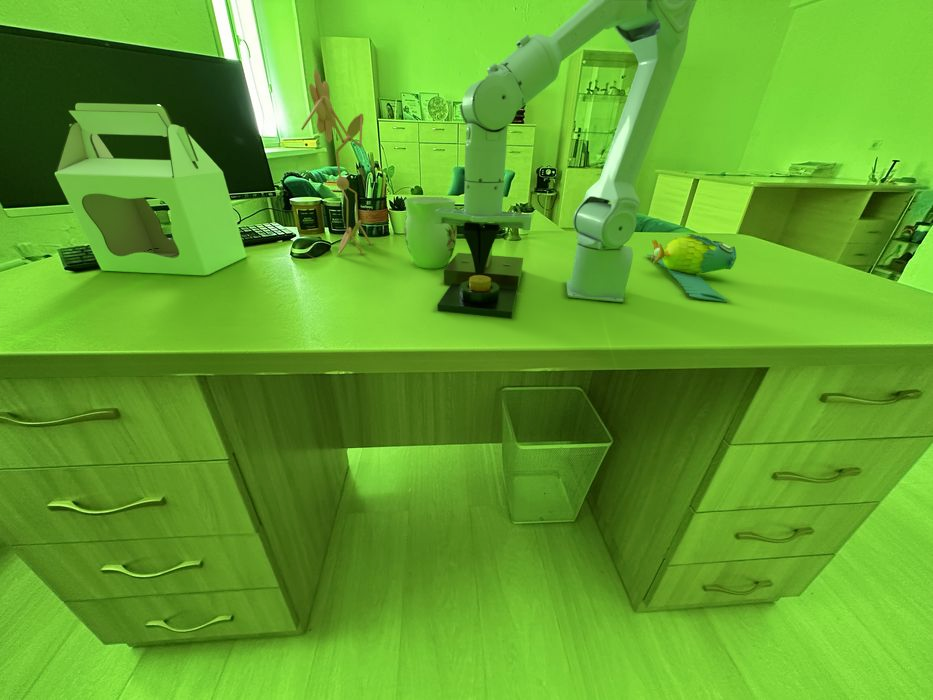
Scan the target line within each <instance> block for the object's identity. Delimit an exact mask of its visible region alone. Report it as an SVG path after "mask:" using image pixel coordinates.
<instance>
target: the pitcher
mask: <svg viewBox="0 0 933 700" xmlns="http://www.w3.org/2000/svg"><path fill="white" fill-rule="evenodd" d="M403 201H404V205H405V210H406V216H405V221H404V228H403V229H404V240H405V245H406V247H407V250H408V254H409V256H410V257H411V260H412V261H413V262H414V263H415V264H416V267H419V268H422V269H428V270H429V269H430V270H431V269H433V270H434V269H441V268H445V267H447V265H448V264H449V263H450V261H451V259H452V257H453V254H454V251H455V248H456V243H457V234H458V232H457V231H458V230H457V229H458V228H457V224H435V211H436V210H437V209H455V205H456V200H455V199H453V198H450V197H442V196H441V197H440V196H416V197H414V196H413V197H408V198H405V199H404V200H403Z"/></svg>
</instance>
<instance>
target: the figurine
mask: <svg viewBox="0 0 933 700" xmlns="http://www.w3.org/2000/svg"><path fill="white" fill-rule="evenodd" d="M313 80H314V84H312V83H311V82H310V83H309V84H308V88H309V93H310V97H311V100H312V103H313V108H312V110H311V111H310V113H308V116H307V117H306V119H305V121H304V123H303V125H302V126H301V128H300V129H301V130H302V131H304V129H305V128H306V126H307V125H308V123H309V122H310V121H311V119H312V118H313V116H314V114H316V128H317V131H318V133H319V134H323V133H325V138H326V141H327V142H328V144H330V143H331V142H332V141H333V129H334V130H335V131H336V133H337V135H338V137H339V139H340V141H341V143H342V144H341V145H340V146H339V147H337V148H336V149H335V153H334V154H335V159H336V166H337V171H338V177H337V179H336V182H335V183H336V187H338V189H340V190H341V192H342V194H343V195H344V198H345V200H346V230H345V232H344V234H343V235H342V237H341V240H340V243H339V247H338V252H337V255H341V253H342V252H343V251H344V249H345V248H346V247H347V244H348V242H351V241H352V242H353V243H354V245H355V246H356V249H357V250H358V251H359V253H360V254H361V255H363V254H364V252H363V250H362V248H361V247H360V245H359V244H358V242H357V241H356V239H355V235H356V234H357V233H358V230H359V229H360V231H361V232H362V234H363V236H364V237H365V239H366V241H367V242H368V244H369V245H370V246H371V245H372V244H373V243H372V242H371V240H370V238H369V237H368V235H367V234H366V233H367V232H366V231H365V230H364V228H363V227H362V225H361V224H362V220H361V219H359V212H358V211H359V210H358V193H357V192H356V191H355V190H354V189H352V188H350V182H349V180H348V179H347V177H345V176H342V175H341V174H342V173H341V165H340V157H339V152H340V151H341V150H342V149H343V148H344V147H345V146H346V145H347V143H348V142H353V143H354V144H355V145H356V146H358V147H359V148H362V146H363V144H362V143H363V126H364V119H365V118H364V114H363V113H359V114H358V115H357V116H355V117H354V118H353V119H352V120H351V122H350V123H349V125H348V127H347V130H346V129H345V127H344V125H343V123H342V122H341V120H340V118H339V116H338V115H337V114H336V112H335V110H334V108H333V105H332V102H331V93H330V86H329V83H328V81H326V80H324V81H323V82H322V77H321V75H320V73H319V72H318V70H317V69H314V70H313ZM337 123H338V124H337ZM338 125H339V126H340V128H341V130H342V131H343V133H344V135H345V136H346V137H343V135H342V133H341V131H340V129H339V126H338ZM358 134H359V139H358V141H357V140H355V139H354V138H355V137H356V136H358ZM347 189H348V190H349V191H351V192H352V193H354V198H355V199H354V201H355V214H356V215H355V216H356V222H355V224H354V227H353V228H352V227H350V226H349V198H348V196H347V194H346V193H345V190H347ZM373 238H374V239H379V237H376V236H373V237H372V239H373ZM315 245H316V243H314V244H311V245H309V246H306V247H305V249H306V251H305V252H307V250H309V248H311V247H313V246H315ZM303 254H304V255H306V254H305V253H303ZM308 257H310V258H313V259H315V257H314V256H311V255H310V254H308Z"/></svg>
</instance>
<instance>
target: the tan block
mask: <svg viewBox="0 0 933 700" xmlns="http://www.w3.org/2000/svg"><path fill="white" fill-rule="evenodd" d="M493 246H494V244H493V245H492V248H491V250H490V253H489V256H488V260H487V264H486V267H488V266H489V264H490V262H491V260H492V255H493Z"/></svg>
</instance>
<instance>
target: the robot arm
mask: <svg viewBox="0 0 933 700" xmlns="http://www.w3.org/2000/svg"><path fill="white" fill-rule="evenodd" d="M696 3H697V0H588V1H587V2H586V3H585V4H583V5H582V6H581V7H580V8H579V9H577V11H576V12H575V13H574V14H572V15H571V16H570V17H569V18H568V19H567V20H566V21H564V22H563V24H561V25H560V26H559V27H558V28H557V29H555V31H553V32H552V33H551V34H550V35H544V34H541V33H535V34H532V36H530V34H526V35H524V36H522V37H521V38H520V39H518V40H517V41H516V43H515V45H516V47H517V48H516V49H515V50H513V52H511V53H510V54H509V55H508V56H507V57H505V58H504V59H503V60H502V61H500V63H498V64H497V63H496V62H494V63H492V64H491V65H489V66H488V67H487V68H486V72H487V73H488V74H487V75H486V76H485V78H484V79H483V78H482V79H481V80H478V81H475V82H473V83H471V84H470V85H469V86H468V88H467V89H466V90H465V92H464V96H463V97H462V103H461V104H460V105H459V112H460V116H461V118H462V120H463V123H464V124H465V125H466V126H465V146H464V147H465V148H464V151H465V152H464V189H463V190H464V191H463V193H464V194H463V195H464V196H463V197H464V198H463V199H464V201H463V208H461V209H459V208H457V209H456V208H454V209H437V210H436V211H435V224H456V225H458V226H459V225H461V226H464V227H463V230H462V234H463V237H464V239H465V241H466V243H467V245H468V249H469V251H470V254H472V258H473V262H474V267H475V273H476V274H484V272H485V269H486V264H487V260H488V256H489V253H490V250H491V248H492V249H493V246H494V243H495V241H496V238H497V237H498V235H499V232H500V230H501V228H504V229H505V228H506V229H518V230H519V229H521V230H523V231H531V224H532V216H533V214H529V213H518V212H510V211H503V203H504V190H505V189H504V188H505V174H506V173H505V171H506V156H507V142H508V141H507V139H508V126H509V125H511V124H512V122H513V121H514V120H515V118H516V115H517V112H518V111H519V110H521V109H522V108H523V107H524V106H526V105H527V104H528V103H530V101H532V100H533V99H535V97H537V96H538V95H539V94H541V92H543V91H544V90H545V89H546V88H548V87H549V86H550V85H551V84H553V82H555V81H556V80H557V78H558V76H559V73H560V69H561V64H562V62H563V61H565V60H566V59H567V58H569V57H570V56H571V55H572V54H574V53H575V52H576V51H577V50H579V49H580V48H581V47H583V46H585V44H586V43H588V42H589V41H591V40H592V39H593V38H595V37H596V36H597V35H598V34H600V33H601V32H602V31H604V30H611V29H612V28H613V29H614V30H615V32H616V33H617V35H619V37H620V38H621V39H622V40H623V42H624V43H625V44H626V45H627V47H628V48H629V49H630V50H631V52H632V53H633V54H634V55H635V57H636V60H637V63H638V64H637V69H636V71H635V74H634V77H633V80H632V83H631V86H630V89H629V91H628V95H627V97H626V100H625V103H624V106H623V109H622V112H621V115H620V118H619V120H618V123H617V126H616V130H615V131H614V132H615V133H614V135H613V138H612V141H611V144H610V147H609V150H608V153H607V156H606V158H605V161H604V165H603V168H602V171H601V172H600V176H599V179H598V180H597V181H596V182H595V183H594V184H592V185H591V186H590V187H589V188H588V189H587V190H586V192H585V195H584V197H583V199H582V201H581V203H580V204H579V205H578V207H576V210H575V211H574V213H573V216H572V226H573V229H574V232H576V233H577V235H576V240H577V243H576V248H575V254H574V260H573V266H572V272H571V276H570V277H571V278H570V280H567V281H566V293H567V297H568V298H570V299H582V300H593V301H602V302H603V301H604V302H614V303H624V300H625V299H624V296H625V294H626V293H625V292H626V289H627V285H628V280H629V278H630V272H631V269H632V264H633V257H634V253H633V248H632V247H631V246H627V245H625V244H626V243H628V242H629V241H630V239H631V238H632V237H633V235H634V233H635V231H636V228H637V215H638V211H639V208H640V206H641V201H640V199H639V196H638V195H637V193H636V190H635V188H634V187H635V184H636V183H637V179H638V177H639V174H640V171H641V169H642V167H643V164H644V161H645V159H646V156H647V153H648V151H649V148H650V145H651V143H652V140H653V137H654V135H655V132H656V129H657V127H658V124H659V122H660V120H661V117H662V114H663V111H664V109H665V106H666V103H667V101H668V99H669V96H670V93H671V91H672V88H673V85H674V83H675V81H676V77H677V75H678V72H679V69H680V67H681V65H682V62H683V59H684V56H685V53H686V50H687V44H688V35H689V28H690V21H691V17H692V14H693V11H694V9H695V6H696ZM492 245H493V246H492Z"/></svg>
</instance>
